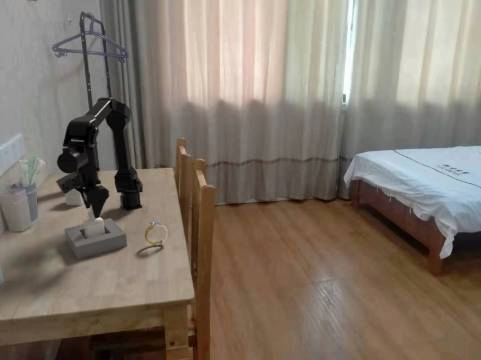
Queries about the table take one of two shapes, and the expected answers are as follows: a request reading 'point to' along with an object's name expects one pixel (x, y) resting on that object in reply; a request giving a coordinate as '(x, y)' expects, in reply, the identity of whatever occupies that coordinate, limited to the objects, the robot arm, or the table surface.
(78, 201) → the product box
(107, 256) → the table surface
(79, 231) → the holder block
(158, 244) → the bracelet
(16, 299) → the table surface
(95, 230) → the eye dropper bottle
